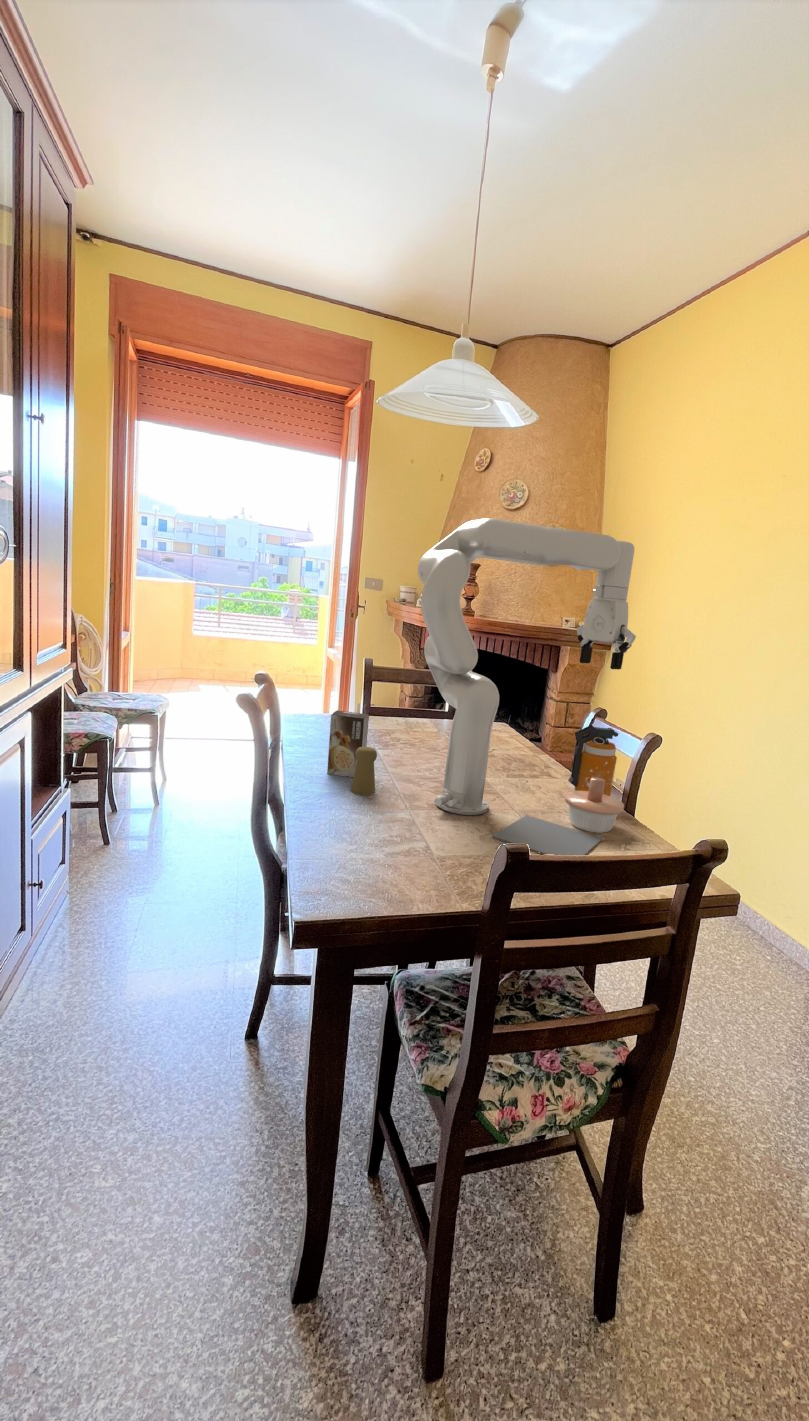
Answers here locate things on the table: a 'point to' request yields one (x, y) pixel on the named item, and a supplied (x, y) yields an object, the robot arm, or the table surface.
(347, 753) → the coffee box
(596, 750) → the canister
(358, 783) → the cork
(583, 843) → the mat
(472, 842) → the table surface
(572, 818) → the ramekin
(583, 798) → the lid
